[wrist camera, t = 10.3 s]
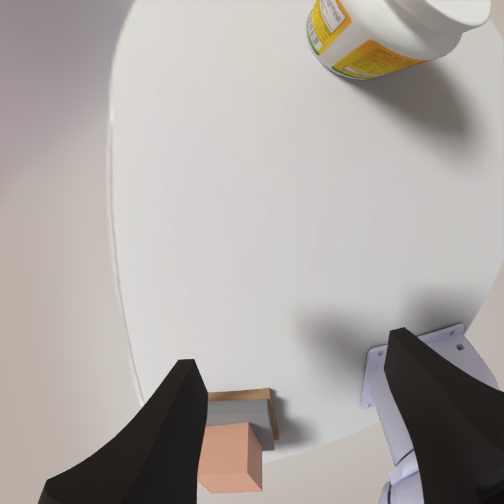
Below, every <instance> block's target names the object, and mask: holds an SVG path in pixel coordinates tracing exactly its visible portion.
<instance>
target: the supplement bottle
mask: <svg viewBox="0 0 504 504" xmlns="http://www.w3.org/2000/svg"><path fill="white" fill-rule="evenodd" d="M490 14H491V0H317V1H316V3H315V4H314V6H313V8H312V10H311V12H310V14H309V17H308V19H307V22H306V38H307V42H308V45H309V47H310V49H311V51H312V52H313V54H314V55H315V56H316V58H317V59H318V60H319V61H320V62H321V63H322V64H323V65H324V66H325V67H327V68H328V69H330V70H331V71H333V72H334V73H336V74H338V75H341V76H344V77H348V78H352V79H358V80H368V79H373V78H377V77H380V76H383V75H386V74H388V73H391V72H394V71H397V70H400V69H403V68H406V67H410V66H413V65H416V64H420V63H423V62H427V61H430V60H434V59H437V58H440V57H443V56H445V55H447V54H449V53H450V52H451V51H452V50H453V49H454V48H455V47H456V46H457V44H458V43H459V41H460V39H461V36H462V33H464V32H466V31H468V30H471V29H474V28H477V27H479V26H482V25H483V24H485V23H486V22H487V21H488V19H489V17H490Z"/></svg>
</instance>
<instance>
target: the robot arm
mask: <svg viewBox="0 0 504 504" xmlns="http://www.w3.org/2000/svg"><path fill="white" fill-rule="evenodd" d="M464 329H465V326H464V325H463V324H462V323H460V324H457V325H454V326H451V327H448V328H445V329H442V330H438V331H435V332H432V333H428V334H425V335H422V336H418V337H416V336H415V335H414V334H413V333H411V332H410V331H409V330H407V329H406V328H405V327H404V328H400V329H396V330H391V331H390V334H389V340H388V344H387V345H383V346H379V347H375V348H372V349H370V350H369V352H368V356H367V363H366V371H365V377H364V384H363V390H362V396H361V402H360V407H361V408H362V409H367V408H371V407H376V410H377V413H378V416H379V419H380V421H381V424H382V427H383V430H384V433H385V436H386V439H387V443H388V445H389V449H390V452H391V455H392V458H393V462H394V465H395V467H394V468H393V469H391V470H389V471H388V475H389V479H390V481H389V482H388V483H386V484H385V486H384V487H383V489H382V493H381V496H380V499H379V504H504V392H502V391H500V390H499V389H498V385H497V382H496V379H495V377H494V375H493V374H492V372H491V371H490V369H489V368H488V367H487V365H486V364H485V362H484V361H483V360H482V358H481V357H480V356H479V354H478V353H477V352H476V350H475V349H474V348H473V346H472V345H471V344H470V342H469V341H468V340H467V339H466V337H465V336H464V335H463V332H464ZM379 352H380V353H379ZM207 412H208V392H207V389H206V387H205V385H204V382H203V380H202V377H201V375H200V372H199V370H198V368H197V365H196V363H195V360H194V359H184V360H178V361H177V363H176V364H175V365H174V367H173V368H172V369H171V371H170V372H169V373H168V375H167V376H166V378H165V379H164V380H163V382H162V383H161V384H160V386H159V387H158V388H157V390H156V391H155V392H154V394H153V395H152V396H151V398H150V399H149V400H148V401H147V403H146V404H145V405H144V406H143V407H142V409H141V410H140V411H139V412H138V413H137V415H136V416H135V417H134V418H133V419H132V420H131V421H130V423H128V424H127V426H125V427H124V428H123V429H122V430H121V431H120V432H119V433H118V434H117V435H116V436H115V437H114V438H113V439H112V440H111V441H109V442H108V443H107V444H106V445H104V446H103V447H102V448H101V449H99V450H98V451H97V452H95V453H94V454H93V455H91V456H90V457H88V458H87V459H85V460H84V461H83V462H81V463H79V464H77V465H76V466H74V467H72V468H71V469H69V470H67V471H65V472H63V473H61V474H59V475H57V476H55V477H52V478H50V479H48V480H47V481H46V483H45V486H44V488H43V491H42V493H41V496H40V499H39V502H38V504H197V476H198V467H199V460H200V455H201V449H202V444H203V438H204V433H205V427H206V421H207Z"/></svg>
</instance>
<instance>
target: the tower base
mask: <svg viewBox="0 0 504 504" xmlns="http://www.w3.org/2000/svg"><path fill="white" fill-rule="evenodd" d="M266 398H267V401H268V407H269V413H270V419H271V425H272V431H273V436H274V440H279V433H278V428H277V423H276V418H275V413H274V408H273V404H272V399H271V394H270V389H269V388H265V389H255V390H243V391H229V392H211V393H208V401H235V400H252V399H266Z"/></svg>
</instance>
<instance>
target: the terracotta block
mask: <svg viewBox="0 0 504 504" xmlns="http://www.w3.org/2000/svg"><path fill="white" fill-rule="evenodd" d="M197 481H198V482H199V483H200V484H201V485H202V486H203V487H205V488H206V489H207V490H208V491H209V492H211V493H242V492H257V491H262V446H261V444H260V442H259V440H258V439H257V437H256V435H255V433H254V431H253V430H252V428H251V426H250V424H249V422H245V423H236V424H227V425H216V426H206V427H205V433H204V438H203V444H202V449H201V455H200V460H199V467H198V476H197Z"/></svg>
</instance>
